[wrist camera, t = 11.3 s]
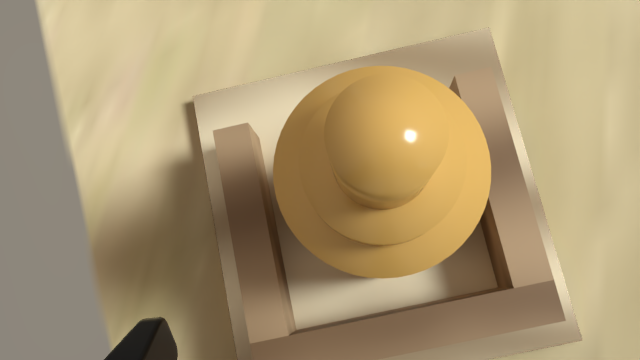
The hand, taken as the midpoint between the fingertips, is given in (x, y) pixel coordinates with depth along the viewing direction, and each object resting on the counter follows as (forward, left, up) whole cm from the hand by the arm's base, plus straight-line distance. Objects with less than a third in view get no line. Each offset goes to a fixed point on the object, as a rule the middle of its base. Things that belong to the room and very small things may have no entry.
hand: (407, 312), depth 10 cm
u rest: (+4, 0, -14) cm, 14 cm away
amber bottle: (+3, 0, -13) cm, 13 cm away
